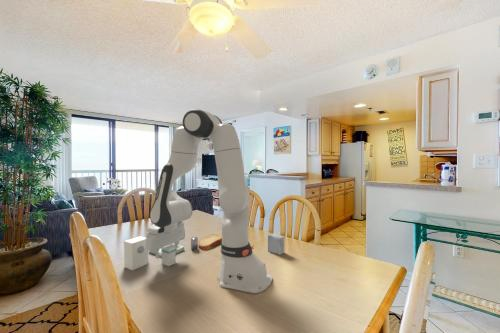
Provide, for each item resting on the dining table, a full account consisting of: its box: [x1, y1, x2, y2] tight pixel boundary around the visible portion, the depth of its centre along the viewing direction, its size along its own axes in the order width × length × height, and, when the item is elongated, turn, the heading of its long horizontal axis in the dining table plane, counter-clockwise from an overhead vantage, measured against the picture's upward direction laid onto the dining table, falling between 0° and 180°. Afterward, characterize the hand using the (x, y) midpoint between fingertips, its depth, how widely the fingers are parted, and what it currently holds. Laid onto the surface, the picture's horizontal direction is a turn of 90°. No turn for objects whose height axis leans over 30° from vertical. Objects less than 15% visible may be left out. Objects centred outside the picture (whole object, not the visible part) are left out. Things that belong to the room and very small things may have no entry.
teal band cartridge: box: [161, 245, 177, 267], centre depth 110 cm, size 5×4×8 cm
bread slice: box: [198, 233, 222, 251], centre depth 136 cm, size 18×18×4 cm
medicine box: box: [267, 233, 285, 256], centre depth 123 cm, size 8×4×9 cm, turn 47°
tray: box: [148, 243, 185, 258], centre depth 124 cm, size 13×12×2 cm
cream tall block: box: [123, 235, 150, 271], centre depth 108 cm, size 7×8×12 cm
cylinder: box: [190, 236, 199, 251], centre depth 127 cm, size 4×4×6 cm
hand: (166, 254), depth 110 cm, fingers open, 8 cm apart
